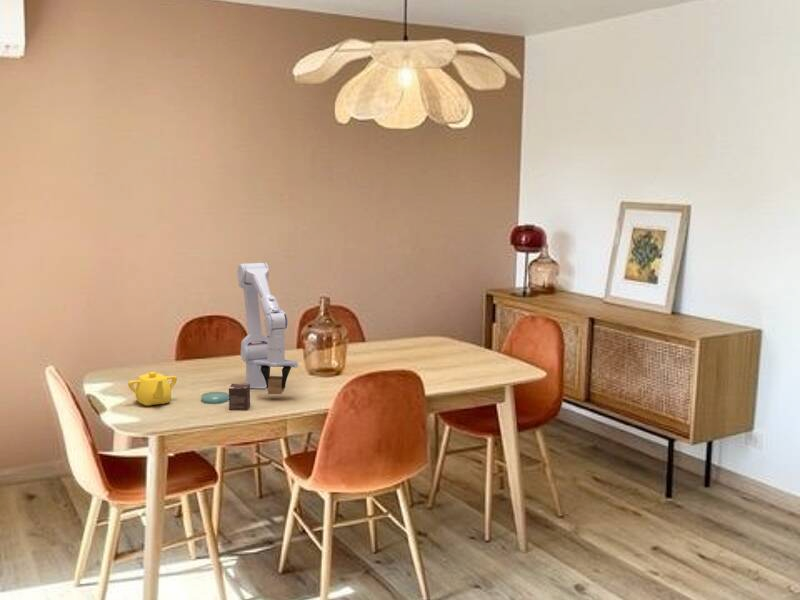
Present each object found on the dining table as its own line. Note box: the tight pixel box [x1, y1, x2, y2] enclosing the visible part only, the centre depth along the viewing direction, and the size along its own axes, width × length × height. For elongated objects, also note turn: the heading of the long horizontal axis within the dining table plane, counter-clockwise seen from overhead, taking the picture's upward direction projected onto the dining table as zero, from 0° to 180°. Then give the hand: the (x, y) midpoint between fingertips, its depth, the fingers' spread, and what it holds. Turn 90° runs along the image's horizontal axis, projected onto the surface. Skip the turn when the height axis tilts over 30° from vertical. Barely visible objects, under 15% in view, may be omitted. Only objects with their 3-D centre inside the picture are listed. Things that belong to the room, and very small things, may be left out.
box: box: [228, 383, 251, 411], centre depth 266 cm, size 6×6×7 cm
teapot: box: [127, 371, 178, 407], centre depth 269 cm, size 14×13×10 cm
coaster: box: [200, 391, 229, 405], centre depth 274 cm, size 9×9×2 cm
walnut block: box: [267, 375, 285, 395], centre depth 276 cm, size 4×4×5 cm
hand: (276, 387), depth 276 cm, fingers closed on walnut block, 4 cm apart
